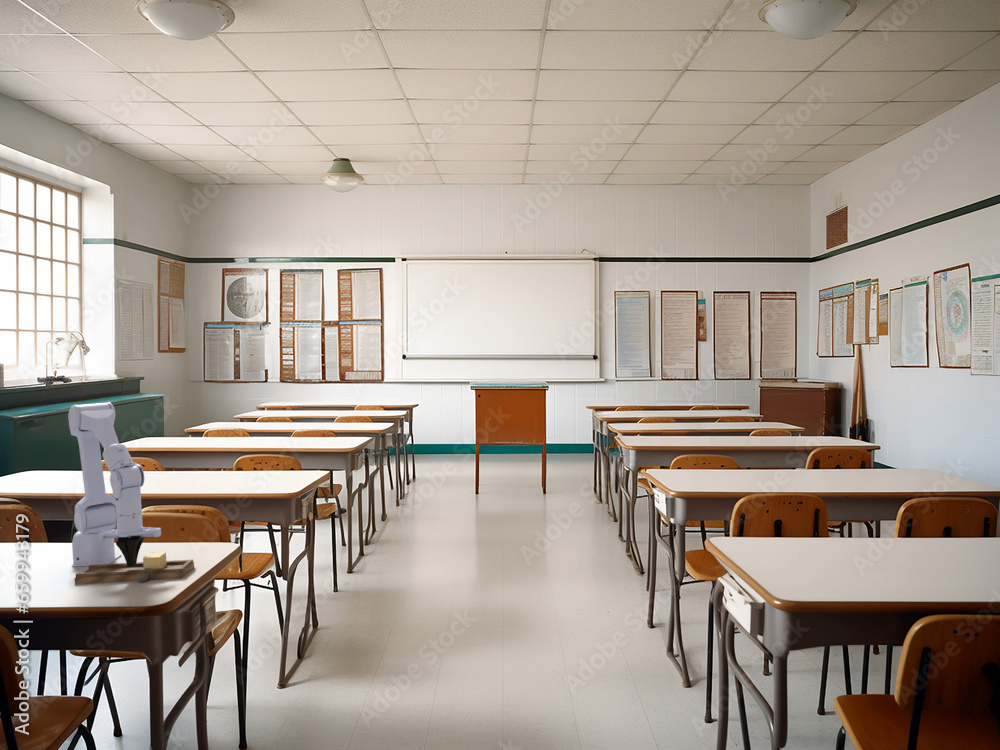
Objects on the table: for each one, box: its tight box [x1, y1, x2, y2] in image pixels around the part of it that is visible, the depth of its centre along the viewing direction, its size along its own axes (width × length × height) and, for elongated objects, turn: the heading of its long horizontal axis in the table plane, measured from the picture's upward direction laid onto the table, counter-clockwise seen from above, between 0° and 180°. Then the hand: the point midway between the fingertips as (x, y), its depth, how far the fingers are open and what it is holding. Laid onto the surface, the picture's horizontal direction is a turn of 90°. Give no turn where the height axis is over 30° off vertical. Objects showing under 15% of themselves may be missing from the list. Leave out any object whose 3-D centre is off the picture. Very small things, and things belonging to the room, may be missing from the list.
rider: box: [142, 551, 167, 569], centre depth 169 cm, size 4×4×4 cm
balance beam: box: [74, 559, 195, 585], centre depth 169 cm, size 26×12×2 cm, turn 95°
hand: (131, 565), depth 169 cm, fingers closed
